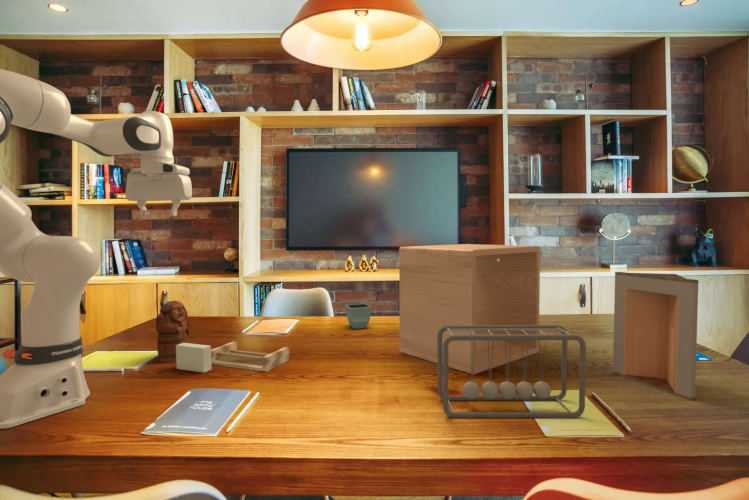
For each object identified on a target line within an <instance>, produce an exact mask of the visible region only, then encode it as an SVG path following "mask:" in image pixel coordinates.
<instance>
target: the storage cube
mask: <svg viewBox="0 0 749 500" xmlns="http://www.w3.org/2000/svg"><path fill="white" fill-rule="evenodd" d="M398 250H399V253H398V254H399V257H398V258H399V271H398V273H399V352H400V353H402V354H404V355H409V356H411V357H415V358H418V359H421V360H425V361H428V362H431V363H433V364H437V335H438V331H439V329H440V328H441V327H443V326H447V325H540V291H541V290H540V288H541V286H540V285H541V281H540V280H541V279H540V278H541V277H540V276H541V275H540V274H541V272H540V271H541V267H540V266H541V247H540V245H518V244H517V245H515V244H514V245H511V244H509V245H508V244H506V245H505V244H478V243H474V244H473V243H465V244H464V243H461V244H460V243H459V244H457V243H456V244H455V243H454V244H438V245H434V244H432V245H415V246H414V245H412V246H409V245H408V246H400V247H399V249H398ZM489 331H490V332H491V333H492V334H493V335H527V334H538V330H523V331H524V332H523V331H522V332H521V330H506V331H507V332H508V333H507V332H506V331H505V332H504V330H489ZM489 331H487V330H472V331H471V330H464V331H451V332H452V334H453V335H474V334H475V335H492V334H491V333H490V332H489ZM525 332H526V333H527V334H526V333H525ZM449 336H451V334H450V332H449V331H448V330H446V331H444V332H443V334H442V366H443V343H444V341H445V339H446V338H447V337H449ZM492 342H493V355H492ZM474 343H475V353H474ZM527 348H528V356H531V355H534V354H537V353H539V340H529V345H528V340H523V353H522V340H511V349H510V340H506V354H505V340H489V356H488V340H454V341H451V342H450V343H449V345H448V368H449V369H453V370H457V371H460V372H463V373H466V374H469V375H472V369H473V375H476V374H479V373H483V372H485V371H489V363H490V370H491V360H492V369H494V368H496V367H499V366H502V365H506V361H507V364H509V353H510V363H511V362H514V361H517V360H520V359H523V358H525V357H526V358H527ZM473 356H474V365H473Z"/></svg>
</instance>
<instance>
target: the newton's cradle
mask: <svg viewBox="0 0 749 500" xmlns="http://www.w3.org/2000/svg"><path fill="white" fill-rule="evenodd" d="M446 330H448V331H449V332H450V334H451V336H449V337H447V338H446V339H445V341H444V343H443V365H442V334H443V332H444V331H446ZM464 330H471V331H472V330H487V331H489V330H504V332H505V331H506V330H521V332H522V331H523V330H538V334H527V333H526V332H525V333H526V334H527V335H493V334H492V333H491V332H490V331H489V332H490V333H491V334H492V335H475V334H474V335H453V334H452V332H451V331H464ZM543 331H559V332H561V334H560V333H559V334H546V333H545V332H543ZM506 332H507V331H506ZM523 332H524V331H523ZM540 332H541V333H542V334H540ZM507 333H508V332H507ZM454 340H488V356H489V340H505V354H506V340H510V349H511V340H522V353H523V340H528V345H529V340H539V351H538V353H541V343H540V341H545V344H544V345H545V346H544V354H546V350H547V341H561V380H560V381H561V382H560V383H561V386H560V387H561V389H560V390H561V391H560V393H559V394H557V395H551V393H552V390H551V386H550V385H549V383H547V382H546V381H544V378H543V377H544V374H545V366H546V365H545V361H546V355H544V357H543V370H542V359H541V356H539V367H540V371H542V374H540V380H539V381H537V382H535V384H533V385H532V384H531V383H530V382H528V381H526V380H527V373H525V372H528V371H527V369H528V367H527V366H528V360H526V363H525V361H524V358H525V357H523V358H522V367H523V370H522V371H523V374H524V378H523V380H522V381H520V382H518V383H517V385H516V386H515V384H514V383H513V382H511V381H509V377H510V375H509V374H510V367H508V365H510V364H511V362H510V353H509V362H508V363H507V361H506V363H505V371H506V372H505V373H506V378H507V380H506V381H502V382H501V383H500V384H499V386H498V384H497V383H496V382H494V381H492V376H491V374H492V370H493V368H492V360H491V369H490V363H489V369H488V376H489V377H488V379H489V380H488V381H485V382H484V383H483V384H482V385H481V389H480V386H479V384H478V383H477V382H475V381H473V376H474V374H473V369H472V374H471V377H470V381H466V382H465V383H464V384H463V387H462V394H463V395H449V367H448V345H449V343H450V342H451V341H454ZM568 341H577V342H578V344H579V381H578V382H579V383H578V386H579V388H578V391H579V392H578V396H579V397H578V408H577V410H576V411H573V412H572V411H571V410H570V408H568V407H567V406H566V405H565V404H564V403H563V402H562V401H561V400H562V399H564V398H565V397H566V394H567V387H568V386H567V383H568V381H567V380H568V379H567V378H568V369H567V368H568ZM474 353H475V343H474ZM586 353H587V345H586V340H585V339H584V338H583V337H582V336H580V335H577V334H571V333H569V332H567V329H566V328H565V327H563V326H562V325H561V324H560V325H559V324H539V325H447V326H443V327H441V328H440V329H439V331H438V335H437V363H436V365H437V369H436V372H437V373H436V374H437V376H436V377H437V382H436V383H437V395H438V396H439V398H440V399H441V400H442V409H443V412H444V414H446V416H448V417H449V418H452V419H453V418H455V419H456V418H458V419H460V418H461V419H462V418H463V419H464V418H466V419H469V418H471V419H472V418H473V419H474V418H477V419H478V418H479V419H480V418H481V419H483V418H485V419H487V418H489V419H490V418H491V419H494V418H496V419H497V418H498V419H501V418H502V419H503V418H504V419H505V418H506V419H508V418H510V419H512V418H513V419H514V418H515V419H528V418H530V419H531V418H533V419H534V418H535V419H537V418H538V419H539V418H540V419H543V418H547V419H553V418H555V419H559V418H560V419H563V418H566V419H568V418H569V419H572V418H573V419H574V418H578V417H580V416H582V415H583V414H584V412H585V410H586V369H587V367H586V364H587V363H586V362H587V361H586V360H587V359H586V357H587V354H586ZM492 355H493V342H492ZM526 359H528V348H527V356H526ZM507 364H508V365H507ZM473 365H474V356H473ZM524 365H525V366H524ZM480 392H481V393H482V395H480ZM516 394H517V395H516ZM451 401H455V402H456V401H457V402H458V401H460V402H461V401H463V402H464V401H465V402H466V401H470V402H472V401H473V402H475V401H476V402H477V401H481V402H484V401H488V402H489V401H491V402H492V401H494V402H495V401H496V402H497V401H502V402H503V401H504V402H505V401H507V402H509V401H513V402H514V401H515V402H516V401H517V402H518V401H519V402H521V401H528V402H529V401H534V402H536V401H538V402H541V401H542V402H543V401H546V402H547V401H557V402H558V403H559V404H560V405H561V406H562V407H563V408H564V409H566V411H558V412H557V411H475V412H474V411H454V409H453V407H452V403H451Z"/></svg>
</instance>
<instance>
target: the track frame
mask: <svg viewBox="0 0 749 500" xmlns="http://www.w3.org/2000/svg"><path fill="white" fill-rule="evenodd" d="M288 361H290V346H283V347H281V348H279V349H277V350H274V351H273V352H271V353H265V352H257V351H247V350H238V341H236V340H235V341H233V340H232V341H231V342H228V343H225V344H222V345H220V346H217V347H215V348H211V366H219V367H220V366H221V367H227V368H235V369H241V370H243V369H244V370H250V371H259V372H264V373H265V372H266V373H268V372H269V371H271V370H273V369H274V368H277V367H278V366H280V365H283V364H284V363H286V362H288Z"/></svg>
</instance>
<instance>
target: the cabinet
mask: <svg viewBox="0 0 749 500" xmlns="http://www.w3.org/2000/svg"><path fill="white" fill-rule="evenodd" d="M698 304H699V279H692V278H687V277H683V276H681V275H679V274H676V273H652V272H625V271H615V272H614V307H613V308H614V309H613V310H614V311H613V313H614V315H613V316H614V317H613V353H612V354H613V355H612V356H613V357H612V358H613V359H612V361H613V363H612V373H613V374H614V375H617V376H620V377H623V378H625V379H628V380H631V381H634V382H636V383H639V384H642V385H645V386H647V387H650V388H654V389H657V390H660V391H662V392H665V393H668V394H671V395H673V396H676V397H680V398H682V399H685V400H688V401H694V400H695V399H696V379H697V378H696V375H697V374H696V373H697V345H698V344H697V340H698V339H697V337H698V336H697V334H698V309H699V307H698Z"/></svg>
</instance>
